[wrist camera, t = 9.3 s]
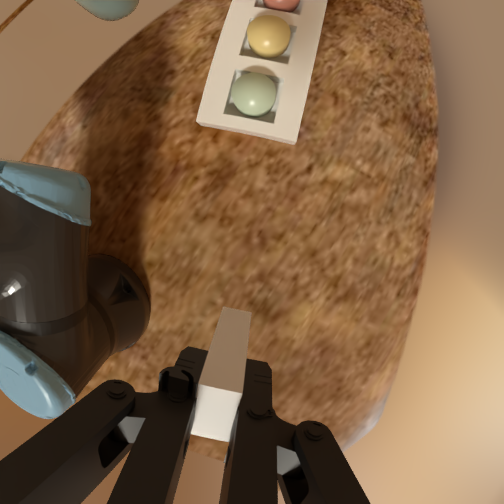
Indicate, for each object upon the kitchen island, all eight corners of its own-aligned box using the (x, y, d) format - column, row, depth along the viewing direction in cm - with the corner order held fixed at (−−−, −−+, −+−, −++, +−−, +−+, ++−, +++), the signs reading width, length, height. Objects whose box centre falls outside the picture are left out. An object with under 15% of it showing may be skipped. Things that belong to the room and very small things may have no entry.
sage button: (229, 113, 34) (226, 107, 31) (239, 77, 33) (237, 69, 30) (270, 121, 34) (270, 116, 31) (279, 84, 33) (280, 77, 30)
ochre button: (244, 53, 31) (242, 44, 29) (253, 23, 30) (252, 12, 27) (284, 61, 32) (285, 52, 29) (292, 30, 30) (294, 19, 27)
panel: (201, 125, 36) (195, 121, 33) (246, -22, 30) (244, -33, 27) (293, 144, 36) (296, 142, 33) (327, -6, 30) (330, -17, 27)
